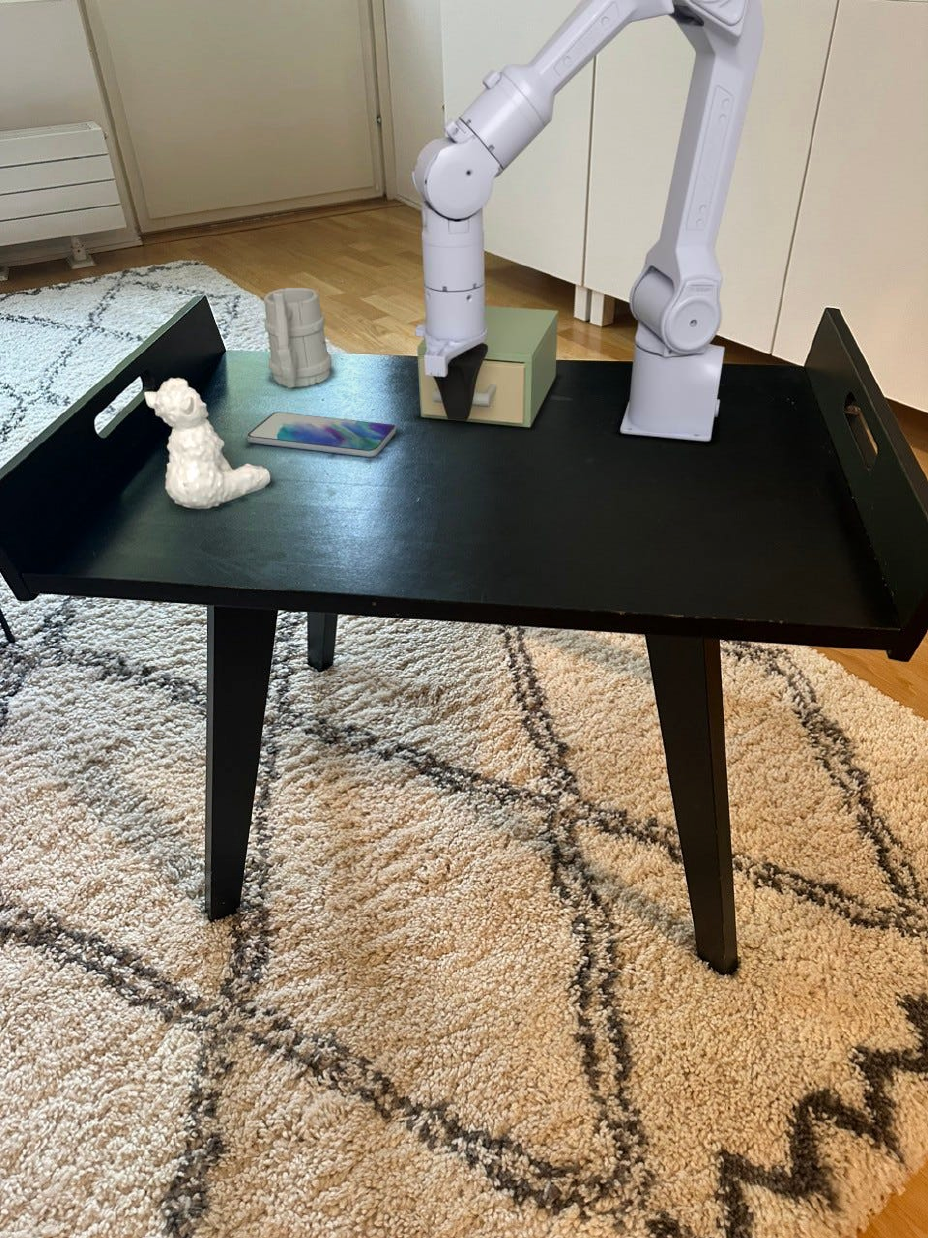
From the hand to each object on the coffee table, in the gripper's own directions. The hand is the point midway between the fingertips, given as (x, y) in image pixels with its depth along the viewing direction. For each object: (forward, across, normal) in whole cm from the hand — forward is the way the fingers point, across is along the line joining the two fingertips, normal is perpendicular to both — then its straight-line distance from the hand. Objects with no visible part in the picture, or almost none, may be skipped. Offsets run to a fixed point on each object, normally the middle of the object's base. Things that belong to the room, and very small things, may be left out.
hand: (458, 417), depth 92 cm
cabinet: (+3, -14, 0) cm, 14 cm away
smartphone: (+3, +1, -15) cm, 15 cm away
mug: (+4, -13, -24) cm, 27 cm away
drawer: (+2, -10, 0) cm, 10 cm away
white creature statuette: (+4, +15, -21) cm, 26 cm away
